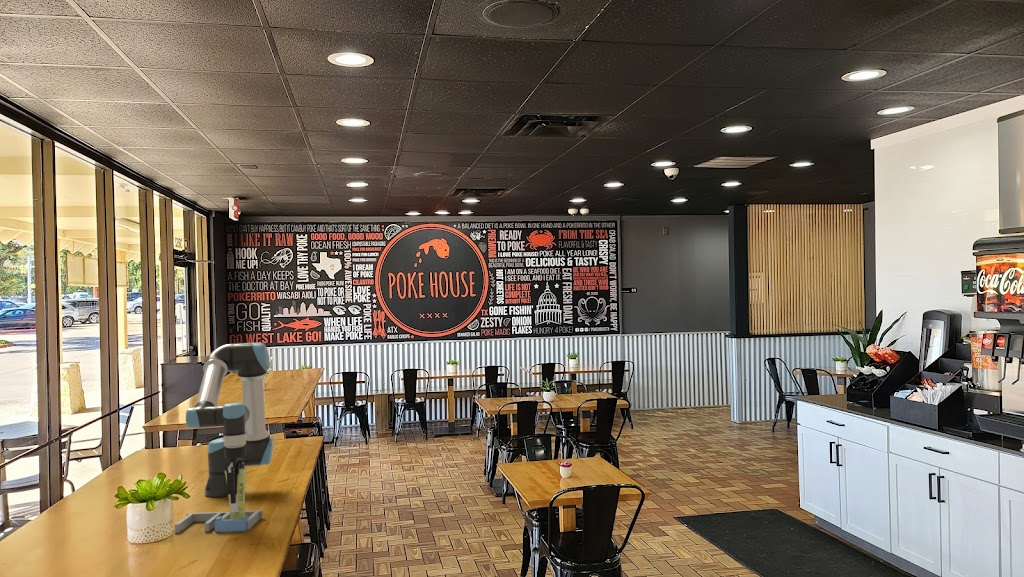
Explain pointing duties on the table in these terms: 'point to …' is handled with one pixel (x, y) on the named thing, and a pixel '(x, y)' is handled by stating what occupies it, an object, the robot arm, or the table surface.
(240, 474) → the tube
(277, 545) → the table surface
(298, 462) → the table surface
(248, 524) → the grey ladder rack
